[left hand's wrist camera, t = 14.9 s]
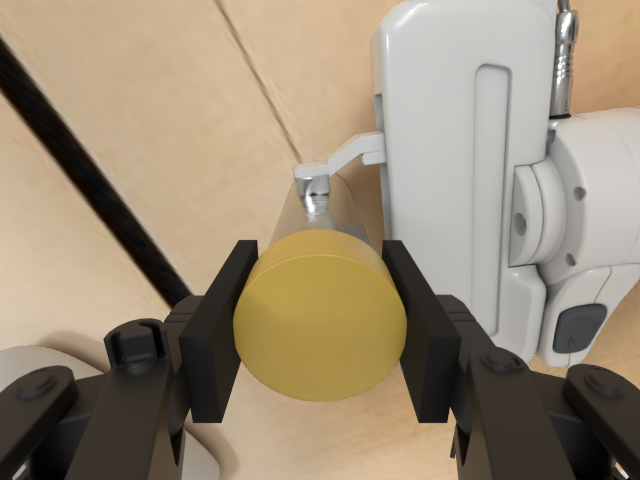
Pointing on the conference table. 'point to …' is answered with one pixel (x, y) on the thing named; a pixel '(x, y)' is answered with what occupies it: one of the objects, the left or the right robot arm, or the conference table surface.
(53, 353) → the projector
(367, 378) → the lid
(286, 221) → the bottle
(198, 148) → the conference table surface
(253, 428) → the conference table surface
